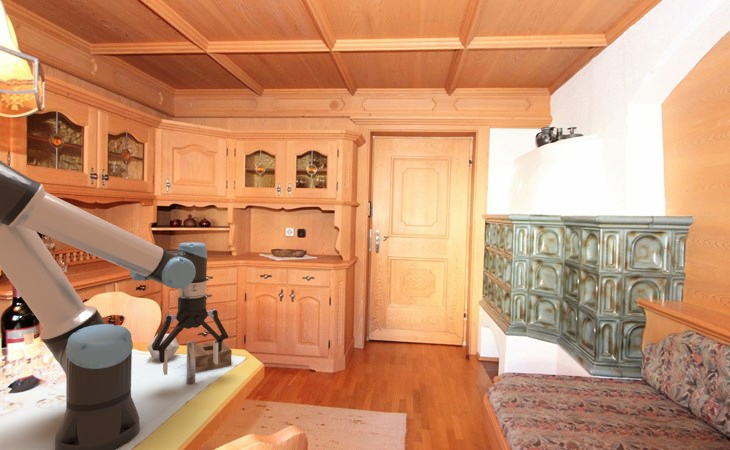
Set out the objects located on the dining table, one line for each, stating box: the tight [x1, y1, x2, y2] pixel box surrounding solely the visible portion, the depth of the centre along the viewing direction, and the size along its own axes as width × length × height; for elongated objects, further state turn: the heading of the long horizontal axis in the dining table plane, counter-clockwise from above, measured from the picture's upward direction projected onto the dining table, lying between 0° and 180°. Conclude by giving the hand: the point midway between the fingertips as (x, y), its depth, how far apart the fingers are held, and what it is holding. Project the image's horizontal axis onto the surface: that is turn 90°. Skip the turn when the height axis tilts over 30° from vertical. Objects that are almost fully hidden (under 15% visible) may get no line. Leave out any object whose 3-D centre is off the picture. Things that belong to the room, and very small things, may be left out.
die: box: [146, 333, 180, 361], centre depth 128 cm, size 8×9×10 cm
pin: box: [185, 340, 197, 385], centre depth 110 cm, size 2×2×12 cm
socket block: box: [195, 341, 233, 374], centre depth 125 cm, size 11×11×5 cm
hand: (191, 367), depth 110 cm, fingers open, 13 cm apart
